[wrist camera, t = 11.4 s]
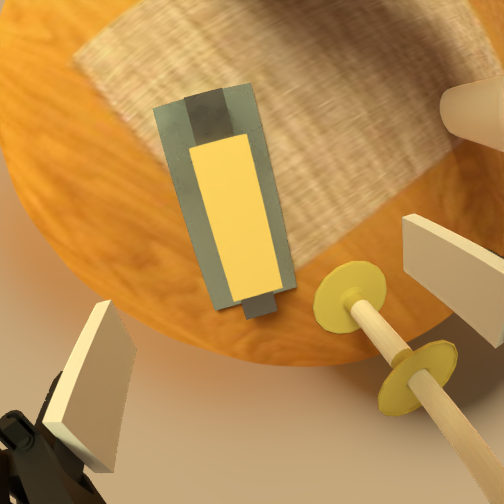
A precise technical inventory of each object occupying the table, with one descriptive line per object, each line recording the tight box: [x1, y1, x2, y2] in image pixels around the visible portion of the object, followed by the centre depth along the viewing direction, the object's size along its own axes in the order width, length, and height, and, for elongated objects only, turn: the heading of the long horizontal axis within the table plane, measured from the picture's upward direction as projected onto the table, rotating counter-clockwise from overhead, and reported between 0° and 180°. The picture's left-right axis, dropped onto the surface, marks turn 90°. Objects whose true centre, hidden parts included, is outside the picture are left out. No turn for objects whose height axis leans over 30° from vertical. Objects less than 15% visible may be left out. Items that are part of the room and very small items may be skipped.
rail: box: [153, 83, 297, 320], centre depth 27 cm, size 21×9×5 cm, turn 14°
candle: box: [312, 261, 504, 504], centre depth 21 cm, size 10×10×32 cm
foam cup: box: [440, 75, 504, 152], centre depth 23 cm, size 10×9×13 cm
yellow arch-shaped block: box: [189, 134, 283, 302], centre depth 25 cm, size 12×4×6 cm, turn 14°
